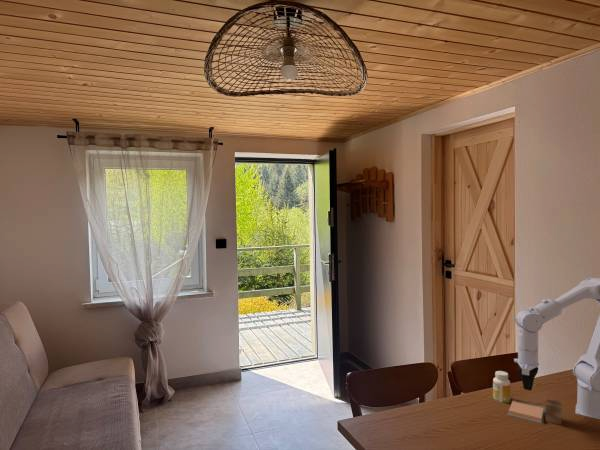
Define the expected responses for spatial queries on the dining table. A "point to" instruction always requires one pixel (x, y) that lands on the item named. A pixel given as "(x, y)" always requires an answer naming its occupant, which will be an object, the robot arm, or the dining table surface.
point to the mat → (533, 405)
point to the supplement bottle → (501, 387)
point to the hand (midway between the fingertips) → (527, 389)
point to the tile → (526, 411)
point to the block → (553, 412)
